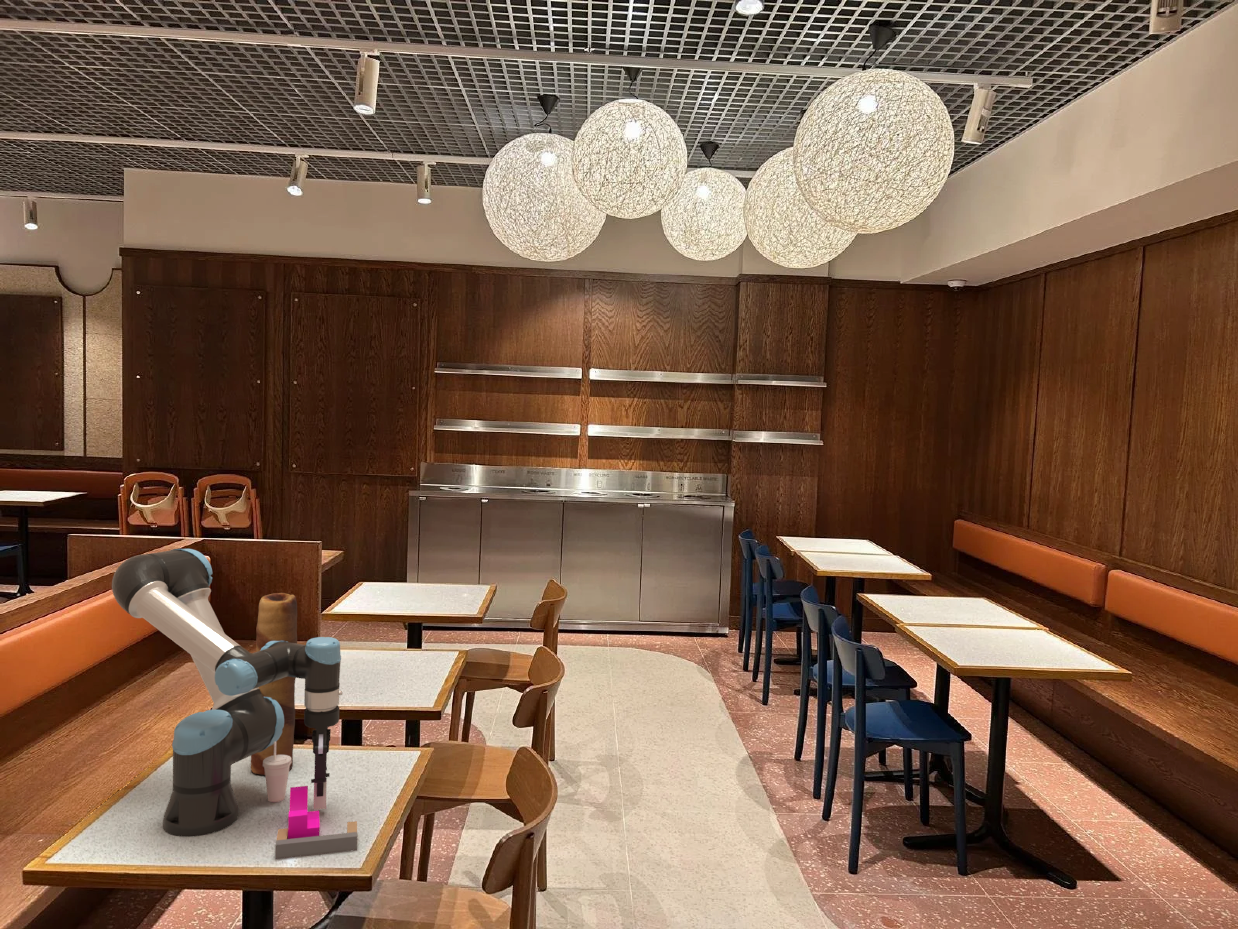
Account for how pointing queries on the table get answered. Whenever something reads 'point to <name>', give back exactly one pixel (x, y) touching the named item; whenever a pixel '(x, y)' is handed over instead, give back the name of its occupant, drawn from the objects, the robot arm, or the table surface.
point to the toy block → (301, 815)
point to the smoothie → (276, 775)
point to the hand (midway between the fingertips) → (319, 807)
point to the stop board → (315, 843)
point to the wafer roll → (282, 626)
